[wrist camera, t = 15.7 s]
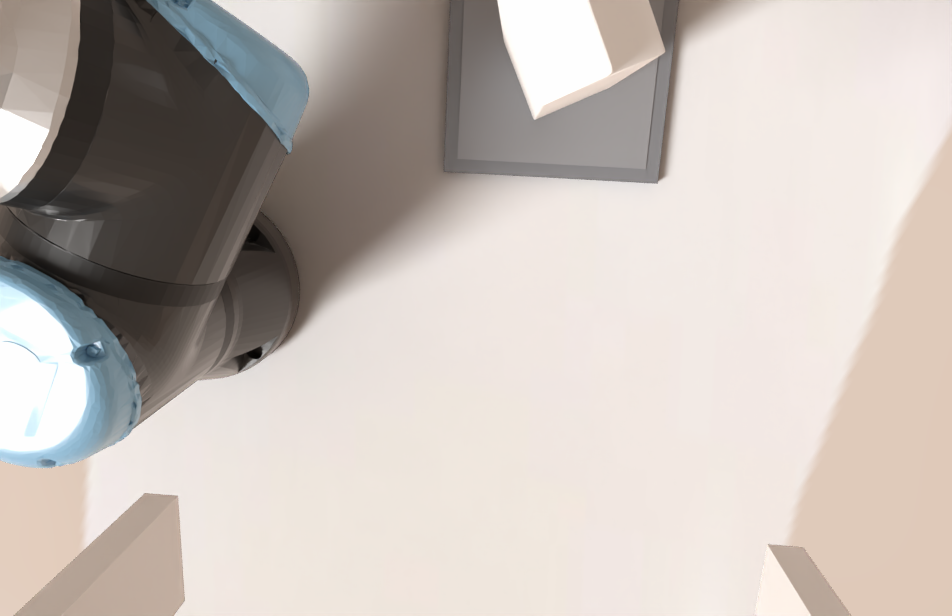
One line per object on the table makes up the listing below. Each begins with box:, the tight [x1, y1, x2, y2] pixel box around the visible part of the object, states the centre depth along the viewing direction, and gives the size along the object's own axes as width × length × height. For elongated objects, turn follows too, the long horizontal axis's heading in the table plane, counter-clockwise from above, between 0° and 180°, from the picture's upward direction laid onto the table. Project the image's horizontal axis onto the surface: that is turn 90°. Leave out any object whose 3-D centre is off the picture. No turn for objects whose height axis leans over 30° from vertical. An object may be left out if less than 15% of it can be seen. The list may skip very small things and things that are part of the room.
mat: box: [444, 0, 679, 184], centre depth 48 cm, size 16×16×1 cm
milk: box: [497, 0, 665, 120], centre depth 37 cm, size 6×6×22 cm
